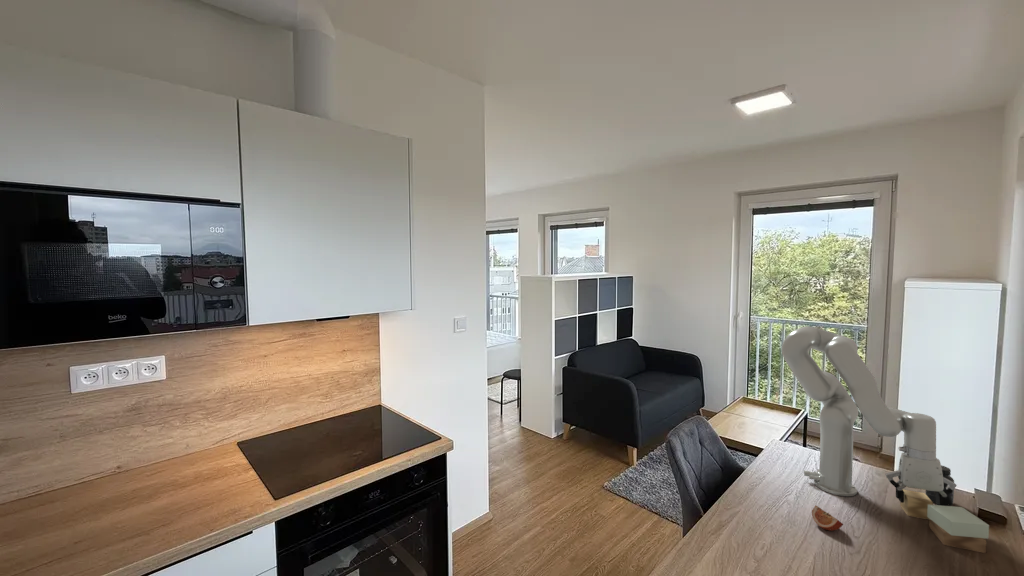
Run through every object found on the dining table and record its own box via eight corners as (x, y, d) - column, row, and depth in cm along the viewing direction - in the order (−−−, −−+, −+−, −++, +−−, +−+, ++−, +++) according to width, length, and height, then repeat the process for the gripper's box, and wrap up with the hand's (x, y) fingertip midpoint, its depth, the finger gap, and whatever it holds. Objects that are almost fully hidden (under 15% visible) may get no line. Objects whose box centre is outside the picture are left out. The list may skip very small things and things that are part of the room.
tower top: (951, 535, 122) (951, 521, 122) (927, 516, 131) (927, 504, 131) (988, 538, 121) (989, 525, 120) (961, 519, 129) (961, 507, 129)
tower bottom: (943, 545, 124) (943, 532, 124) (929, 527, 132) (929, 515, 132) (985, 554, 120) (986, 540, 120) (968, 535, 128) (968, 522, 128)
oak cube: (907, 515, 138) (908, 498, 137) (900, 506, 143) (901, 489, 143) (931, 520, 135) (932, 502, 135) (923, 510, 141) (924, 493, 140)
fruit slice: (806, 520, 136) (806, 505, 136) (825, 518, 137) (826, 503, 137) (828, 536, 128) (828, 521, 128) (848, 535, 129) (849, 519, 128)
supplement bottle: (959, 507, 142) (960, 473, 141) (935, 505, 143) (936, 471, 142) (942, 496, 148) (944, 463, 147) (919, 494, 150) (921, 461, 149)
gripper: (889, 453, 138) (890, 504, 139) (961, 461, 130) (961, 515, 131) (881, 444, 145) (881, 492, 145) (949, 451, 137) (949, 503, 138)
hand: (919, 503), depth 138 cm, fingers open, 9 cm apart
